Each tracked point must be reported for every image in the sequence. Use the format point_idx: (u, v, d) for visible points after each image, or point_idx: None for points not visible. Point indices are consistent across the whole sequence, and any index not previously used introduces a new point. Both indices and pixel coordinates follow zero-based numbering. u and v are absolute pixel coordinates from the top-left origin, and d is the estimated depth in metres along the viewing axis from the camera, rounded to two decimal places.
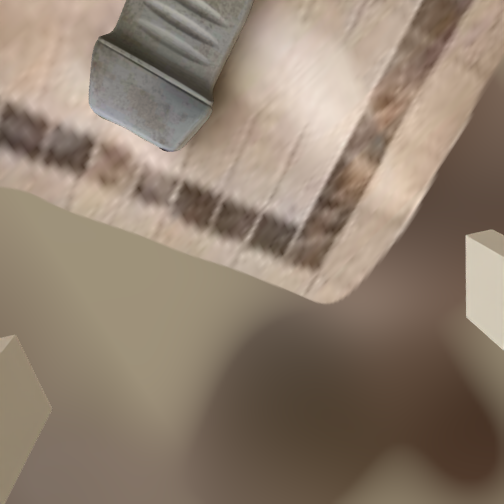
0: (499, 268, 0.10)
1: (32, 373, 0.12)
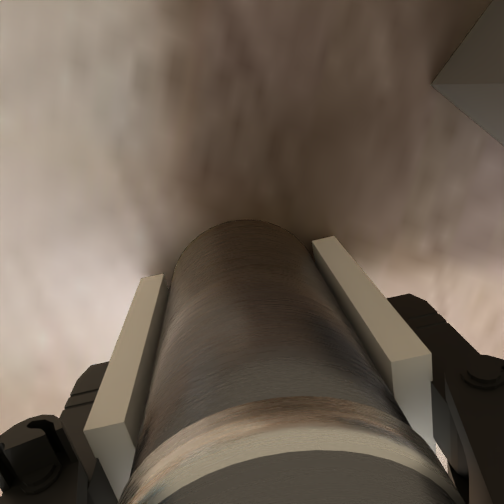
0: (324, 269, 0.12)
1: None
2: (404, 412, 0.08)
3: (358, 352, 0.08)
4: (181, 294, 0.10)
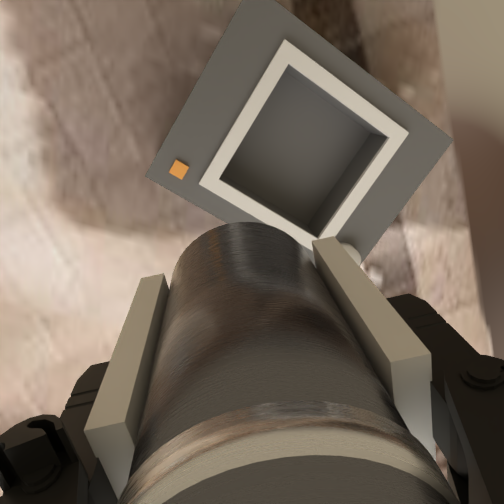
0: (324, 269, 0.12)
1: None
2: (403, 412, 0.08)
3: (356, 355, 0.08)
4: (180, 296, 0.10)
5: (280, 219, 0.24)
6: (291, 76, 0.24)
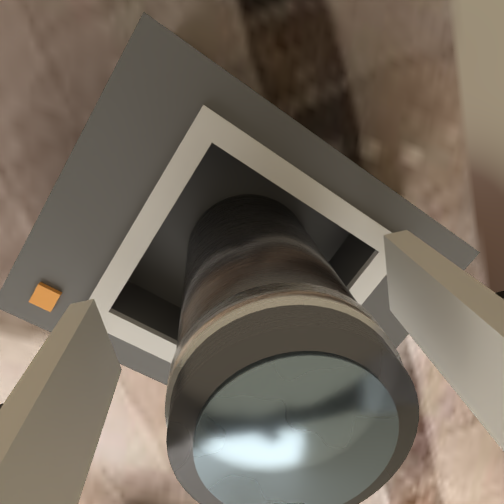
0: (404, 264, 0.12)
1: (106, 335, 0.13)
2: None
3: (332, 272, 0.11)
4: (201, 245, 0.13)
5: None
6: None
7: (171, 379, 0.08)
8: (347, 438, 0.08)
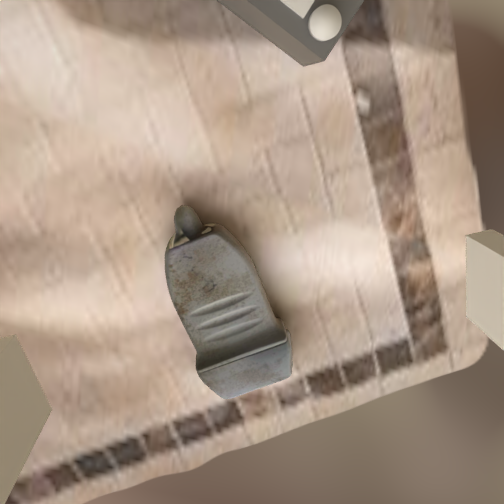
0: (499, 267, 0.10)
1: (33, 372, 0.12)
2: None
3: None
4: None
5: None
6: None
7: None
8: None
